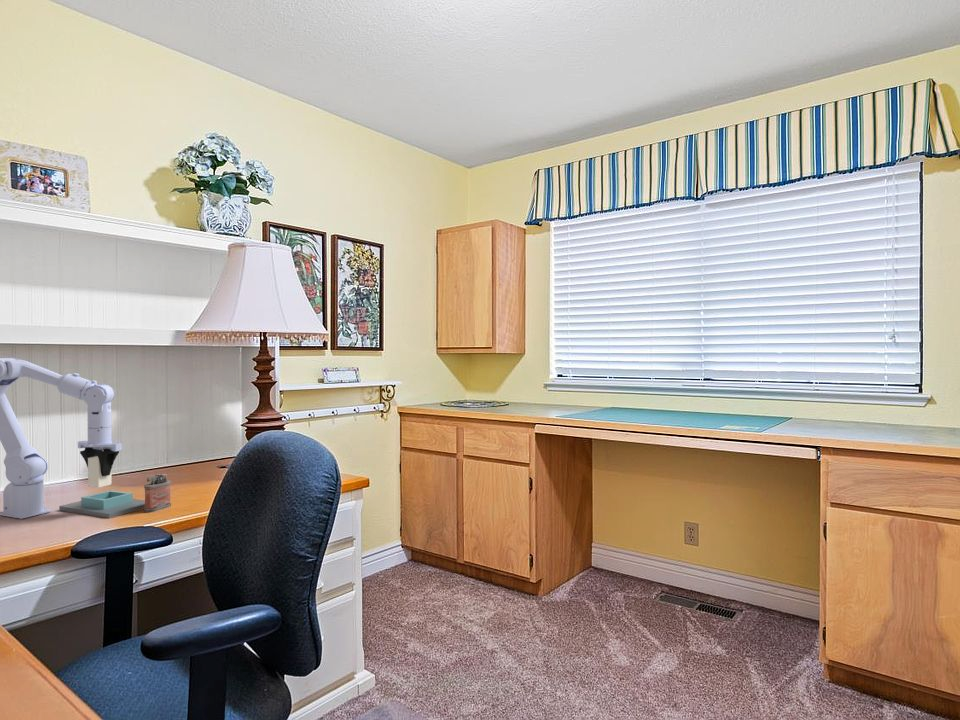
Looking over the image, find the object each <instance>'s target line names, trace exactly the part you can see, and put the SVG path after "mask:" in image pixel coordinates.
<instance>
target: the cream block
mask: <svg viewBox="0 0 960 720" xmlns="http://www.w3.org/2000/svg"><path fill="white" fill-rule="evenodd" d="M112 472H113V471H112V469H111V472H110V475H107V476H102V475H101V469H100V462H99V458H98V456H96V457H90V458H88V467H87V479H88V480H87V487H93V488H102V487H106V486H111V485H112V480H113V479H112V475H113V474H112Z"/></svg>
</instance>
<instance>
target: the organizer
mask: <svg viewBox="0 0 960 720" xmlns="http://www.w3.org/2000/svg"><path fill="white" fill-rule="evenodd" d="M133 494H134V493H133V492H125V491H118V490H107V491H102V492H98V493H94V494H89V495H85V496H81V498H80V499H81V500H80V501H74V502H70V503H67V504H62V505H59V508H58V510H59V511H62V512H67V513H73V514H79V515H87V516H91V517H92V516H93V517H98V518H99V517H100V518H105V519H106V518H107V519H112V518H114V517H115V518H116V517H119V516H122V515H125V514H129V513H133V512H136V511H140V510H144V508H145V499H137V498H133Z"/></svg>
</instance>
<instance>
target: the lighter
mask: <svg viewBox="0 0 960 720" xmlns="http://www.w3.org/2000/svg"><path fill="white" fill-rule="evenodd" d="M167 478H168V474H167V473H164V474H162V473H156V474H155V475H151V476H148V477H147V478H146V482H148V484H144V486H143V489H144V500H145V508H144V509H143V512H144V513H154V512H158V511H161V510H165V508H166V509H168V508H171V507H172V503H171V485H172V480H169V479H168V480H167ZM170 506H171V507H170Z"/></svg>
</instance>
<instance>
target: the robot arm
mask: <svg viewBox="0 0 960 720" xmlns="http://www.w3.org/2000/svg"><path fill="white" fill-rule="evenodd" d="M20 377H21V378H23V377H26V378H29V379H33V380H35V381H38V382H42V383H46V384H49V385H52V386H54V387H56V388H57V390H58V391H59V393H61V394H63V395H67V396H71V397H72V398H75V399H78V400H82V401H84V402H85V404H86V405H87V440H79V441H77V449H83V450H80V451H79V454H80V455H81V457H82V458H83V460H84V461H85V463H86V467H87V468H88V458H90V457H96V456H98V458H99V462H100V469H101V475H102V476H107V475H110V472H111V469H112V468H113V465H114V462H115V460H116V458H117V457H118V455H119V453H120V451H122V450H123V443H119V442H116V441H112V401H113V400H114V398H115V395H116V393H115V390H114V388H113V387H112V386H110V385H108V384H107V383H99V384H98V381H97V380H96V379H95V380H93V379H91V380H89V379H87V378H83V377H81V374H80V373H77V372H74V373H67V374H64V375H62V374H59V373H57V372H56V371H52V370H50V369H48V368H45V367H43V366H40V365H38V364H36V363H35V364H34V363H33V362H30V361H28V360H24V359H19V358H17V357H12V356H11V357H0V443H1V445H2V448H3V449H4V451H5V453H6V454H5V457H4V459H3V464H4V466H5V477H6V479H7V480H8V481H9V483H8V484H7V485H6V486H5V487H4V489H3V493H2V494H3V496H2V501H3V503H2V507H3V508H2V509H3V511H2V512H0V516H4V517H9V518H14V519H20V520H23V519H26V518H31V517H35V516H39V515H43V514H46V513H51V512H52V510H51V509H49V508H48V509H47V508H44V507H45V506H44V504H45V503H44V502H45V501H44V490H45V489H44V488H45V487H44V475H45V474H46V473H47V471H48V469H49V464H48V461H47V460H46V458H45V457H43V456H42V455H41V454H40V453H39V450H37V449H36V448H35V447H33V446H32V445H31V444H30V443H29V441H28V439H27V436H26V435H25V432H24V431H23V429H22V426H21V425H20V421H19V420H18V419H17V416H16V414H15V412H14V410H13V408H12V406H11V403H10V401H9V399H8V397H7V395H6V393H7V391H8V390H9V388H10V387H11V385H12V384H13V383H15V382H16V381H17V380H18V379H20Z"/></svg>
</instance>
